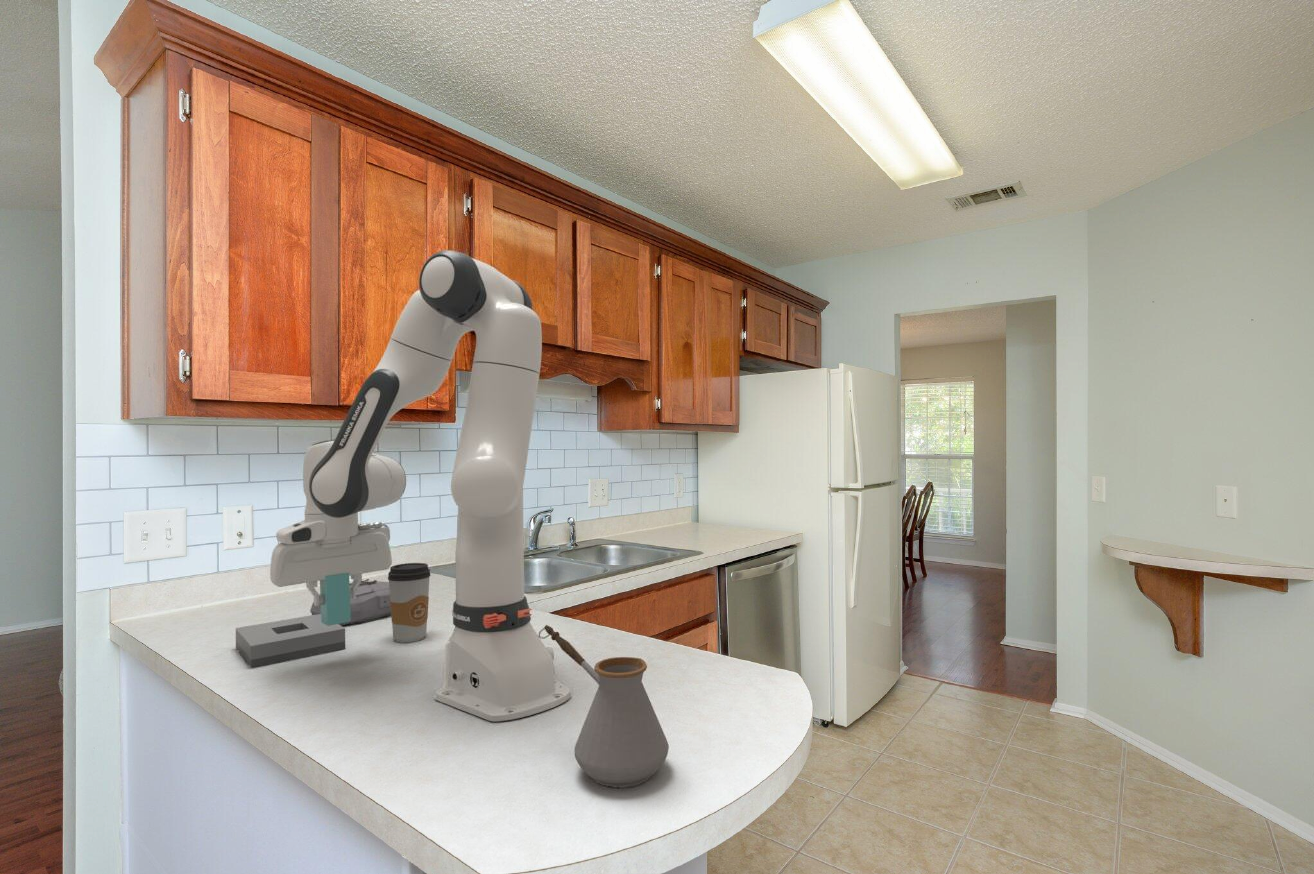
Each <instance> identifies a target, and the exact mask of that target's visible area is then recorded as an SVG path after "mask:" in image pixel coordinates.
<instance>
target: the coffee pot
mask: <svg viewBox="0 0 1314 874" xmlns="http://www.w3.org/2000/svg"><path fill="white" fill-rule="evenodd" d="M544 630H545V632H546V634H548V635H546V636H544V637H543V636H541V634H542V632H543V631H544ZM538 636H539V638H540V639H547V638H548V637H549V636H551V638H550V639H551V640H552V641H555V642H556V643H557V645H558V646H559V647H560V650H562V651H563V652H564V653H565V654H566V655H567V656H569V658H571V659H572V660H573V661H574V662H575V663H576V664H578V665H579V666H580V667H582V668H583V670H585V671H586V673H587V674H588V675H589V676H590V677H591V678H592V679H593V680H594V681H595V682H596V683H597V685H598V687H597V690H596V693H595V694H594V698H593V700H592V702H591V705H590V707H589V710H588V713H587V715H586V717H585V720H584V722H583V725H582V728H581V729H580V732H579V735H578V738H577V740H576V743H575V745H574V750H573V751H574V758H575V760H576V761H577V764H578V765H579V767H580V769H581V770H582V771H583V772H584V773H585V774H586V775H588V776H589V777H590V778H591V779H592V778H593V779H594V780H595V781H594V780H593V779H592V780H593V781H594V782H596V781H597V782H596V783H597V784H599V783H600V784H599V785H601V784H602V785H601V786H604V785H607V786H606V787H608V786H611V787H610V788H617V787H619V789H620V788H621V789H622V788H631V787H634V786H638V785H641V784H643V783H645V782H647V781H648V780H650V779H651V778H652V777H653V775H654V774H655V773H656V772H657V771H659V769H660V768H661V767H662V765H663V764H664V763H665V762H666V759H667V757H668V753H669V749H670V746H669V742H668V740H667V739H668V738H666V735H665V733H664V731H663V728H662V725H661V723H660V720H659V718H658V717H657V715H656V711H655V710H654V707H653V705H652V702H651V700H650V698H649V695H648V693H647V690H646V688H645V686H644V684H643V681H642V680H643V676H644V673H645V672H646V671H647V668H648V665H647V663H646V661H645V660H644V659H642V658H640V657H639V658H638V657H629V656H617V657H609V658H605V659H602V660H600V661H598V662H595V665H594V666H593V667H592V666H591V665H590V664H589V663H588V662H587V661H586V660H585V659H584V657H583V656H582V655H581V654H580V653H579V652H578V651H577V649H576V648H575V647H574V646H573V645H572V644H571V643H570V642H569V641H568V640H566V639H565V638H563V637H561V634H560V632H559V631H555V630H554V629H553V627H552V626H550V625H547V624H546V625H544V627H543V628H542V629H540V630H539V632H538ZM652 774H653V775H652ZM649 778H650V779H649ZM640 783H641V784H640Z"/></svg>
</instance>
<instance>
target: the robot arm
mask: <svg viewBox="0 0 1314 874" xmlns="http://www.w3.org/2000/svg"><path fill="white" fill-rule="evenodd" d="M418 278H419V279H418V290H416V291H415V292H414V293H413V294H412V295H411V296H410V298H409V299H408V301H407V303H406V304H405V306H404V308H403V310H402V312H401V314H400V315H399V318H398V319H397V322H396V324H395V326H394V328H393V331H392V332H391V336H390V339H389V341H388V344H387V346H386V348H385V351H384V353H383V355H382V357H381V359H380V360H379V362H378V364H377V366H376V367H375V368H374V370H373V371H372V373H371V374H370V375H368V377H367V378H366V380H365V381H364V382H363V384H362V385H361V387H360V389H359V391H358V393H357V394H356V397H355V398H354V400H353V401H352V402H353V403H352V405H351V406H350V408H349V410H348V412H347V414H346V416H345V419H344V420H343V422H342V424H341V426H340V428H339V430H338V433H337V435H336V436H335V438H334V439H329V440H328V439H327V440H322V441H319V442H316V443H315V442H314V443H313V444H311V445H310V446H308V447H307V449H306V451H305V454H304V459H303V466H302V467H303V468H302V485H303V486H302V487H303V492H304V495H305V497H306V498H305V499H306V503H305V504H306V505H305V508H304V519H303V520H301V521H298V522H296V523H293V524H291V525H289V526H288V525H287V526H285V527H283V528H281V529H278V530H277V531H276V534H275V535H276V536H275V537H276V540H277V542H279V543H278V544H276V545H275V546H274V548H273V550H272V553H271V559H270V560H271V561H270V569H269V573H270V574H269V575H270V576H269V577H270V581H271V584H273V585H274V586H276V587H278V588H283V587H288V586H295V585H301V584H305V587H306V588H307V590H308V591H309V592H310V593H311V595H312V596H313V602H314V605H315V606H320V605H324V604H325V601H324V599H325V595H323V594H319V592H318V591H317V590H316V588H317V587H318V581H319V582H320V580H325V576H330V575H336V574H342V573H349V577H350V579H351V580H352V582H351V583H352V585H351V587H350V600H352V599H356V589H357V588H358V586H359V584H360V583H361V581H363V574H368V573H369V574H370V573H375V572H379V571H380V572H382V571H386V570H390V568H391V567H392V563H393V560H392V553H391V546H390V543H389V542H390V540H391V530H390V527H389V526H388V525H387V524H386V523H382V522H380V521H379V522H371V523H359V512H365V511H370V510H375V509H377V508H384V507H387V506H391V505H392V504H394V503H397V502H398V501H399V500H400V499H401V497H402V496H403V495H404V493H405V491H406V486H407V477H406V472H405V470H404V467H403V466H402V465H401V463H400V462H399V461H398V460H397V459H395V458H392V457H390V456H389V457H388V456H385V455H380V454H376V453H374V452H375V449H376V447H377V445H378V443H379V441H380V438H381V437H382V435H383V432H384V430H385V428H386V427H387V425H388V422H390V420H391V419H392V417H394V415H396V413H398V412H399V411H400V410H402V409H403V408H405V407H407V406H409V405H411V404H413V403H415V402H417V401H420V400H423V399H425V398H427V397H429V396H431V395H433V394H434V393H436V392H437V391H438V390H439V388H440V387H441V385H442V383H443V382H444V381H445V379H446V376H447V375H448V372H449V370H450V367H451V365H452V362H453V359H454V357H455V356H454V355H455V352H456V350H457V346H458V344H459V342H460V340H461V338H462V337H463V336H464V335H465V334H466V333H469V332H472V331H474V333H475V338H476V340H475V343H476V344H475V351H474V355H473V361H472V368H471V373H470V379H469V386H468V393H467V401H466V405H465V413H464V415H463V421H462V425H461V431H460V435H459V439H458V444H457V449H456V453H455V460H454V465H453V470H452V474H451V475H452V476H451V481H450V483H451V484H450V491H451V496H452V499H453V501H454V503H455V505H456V506H457V525H456V526H457V527H456V539H455V540H456V543H455V544H456V545H455V553H454V555H455V566H454V567H455V600H454V601H453V603H452V611H451V612H452V613H451V614H452V624H453V626H454V629H453V632H452V634H451V636H450V637H449V639H447V642H446V643H445V649H444V662H443V665H444V666H443V680H442V681H443V682H442V686H441V687H440V688H438V689H437V690H436V691H435V696H434V699H435V700H436V701H439V702H441V703H443V704H445V705H448V706H451V707H453V708H455V709H458V710H460V711H464V712H466V713H469V714H470V715H474V716H476V717H479V718H482V719H484V720H487V721H489V722H505V721H511V720H517V719H520V718H525V717H529V716H532V715H536V714H538V713H541V712H544V711H547V710H550V709H553V708H555V707H558V706H560V705H561V704H563V703H565V702H567V701H568V700H569V699H570V698H571V697H572V695H571V690H570V689H569V688H568V687H567V686H566V685H565V684H563V683H562V682H561V681H560V680H558V679H557V678H556V676H555V675H556V673H555V672H556V671H555V665H554V660H555V653H554V652H555V651H554V650H553V647H550V646H549V647H546V646H545V644H544V642H543V641H542V640H541V638H540V637H539V634H538V633H537V632H536V630H535V629H534V627H533V625H532V624H531V620H532V619H531V616H532V615H533V614H532V613H530V612H531V611H532V608H530V606H529V604H528V599H527V596H525V558H524V557H525V554H524V551H525V545H524V538H525V537H524V534H525V533H524V483H525V477H526V469H527V463H528V462H527V461H528V455H529V448H530V441H531V435H532V434H531V433H532V429H533V428H532V427H533V420H534V413H535V407H536V399H537V395H538V394H537V392H538V388H539V382H540V381H539V379H540V374H541V366H542V351H543V349H542V348H543V344H542V343H543V333H542V322H541V319H540V317H539V315H538V314H537V313H536V311H534V310H533V303H532V299H531V297H530V295H529V293H528V291H527V290H526V289H525V288H524V287H523V286H522V285H521V284H520V283H519V282H517V281H516V280H514V279H511V278H509V277H508V276H506V275H505V274H503V273H502V272H501V271H499V270H498V269H497V268H495V267H493V266H492V265H490V264H488V263H486V262H483V261H481V260H478V259H475V258H472V257H471V256H469V255H468V254H466V253H464V252H459V251H456V250H439V251H437V252H435V253H434V254H431V256H429V257H428V258H427V260H426V261H425V263H424V264H423V265H422V268H421V270H420V274H419V277H418Z"/></svg>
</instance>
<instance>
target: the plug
mask: <svg viewBox="0 0 1314 874" xmlns="http://www.w3.org/2000/svg"><path fill="white" fill-rule="evenodd" d="M350 583H351V582H350V576H349V573H342V574H336V575H330V576H325V580H320V581H319V593H320V594H323V595H325V599H324V601H325V604H324V605H321V622H322V623H324V624H325V625H327V626H330V625H335V624H340V623H345V622H350V621H351V607H350Z"/></svg>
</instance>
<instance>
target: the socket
mask: <svg viewBox="0 0 1314 874" xmlns="http://www.w3.org/2000/svg"><path fill="white" fill-rule="evenodd" d="M235 649H236V650H237V652H238V653H239V654H240V656H241V657H242V658H243V659H244V661H245V663H246V664H248V665H247V666H248V667H249V668H250V669H255V668H258V667H264V666H269V665H273V664H278V663H279V664H280V663H283V662H287V661H288V662H289V661H293V660H298V659H303V658H307V657H312V656H317V655H321V654H323V655H324V654H327V653H333V652H337V651H342V650H346V628H345V627H344V626H343V625H339V624H335V625H330V626H327V625H325V624H324V623H322V622H321V614H316V615H312V614H311V615H306V616H299V617H293V618H288V619H282V620H281V619H280V620H276V621H269V622H263V623H257V624H253V625H248V626H247V625H246V626H242V627H241V626H240V627H236V628H235Z"/></svg>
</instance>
